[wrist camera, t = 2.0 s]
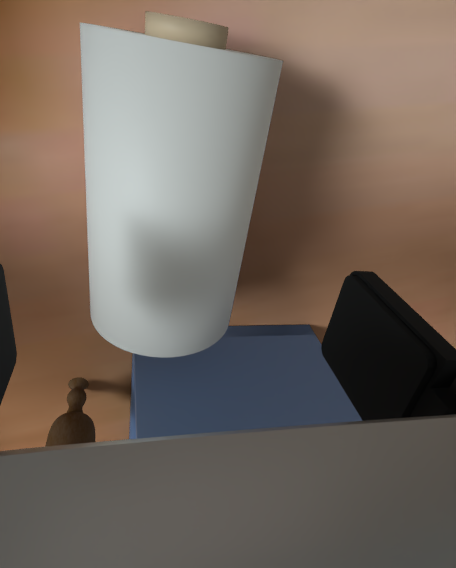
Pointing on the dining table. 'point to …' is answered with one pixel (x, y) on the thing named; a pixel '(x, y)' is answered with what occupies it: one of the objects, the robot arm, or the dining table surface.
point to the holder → (238, 385)
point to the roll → (170, 178)
